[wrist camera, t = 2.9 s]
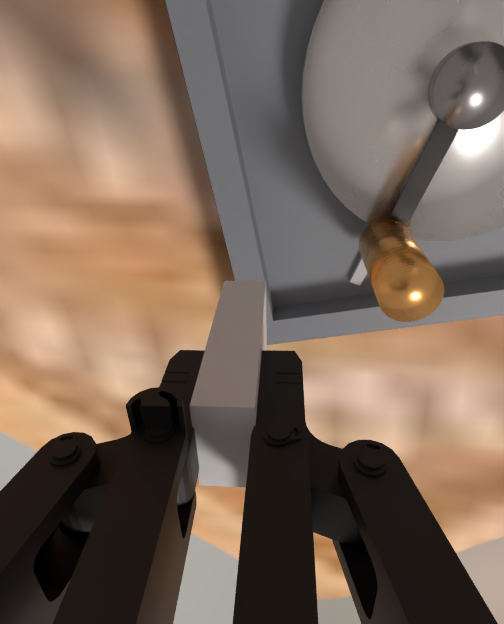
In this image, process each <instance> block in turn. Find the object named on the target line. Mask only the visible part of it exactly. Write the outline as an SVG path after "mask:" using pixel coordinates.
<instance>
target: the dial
mask: <svg viewBox="0 0 504 624" xmlns="http://www.w3.org/2000/svg"><path fill="white" fill-rule="evenodd" d="M301 98H302V112H303V120H304V125H305V130H306V136H307V140H308V144H309V147H310V150H311V153H312V156H313V159H314V161H315V163H316V165H317V167H318V169H319V171H320V173H321V175H322V177H323V179H324V180H325V182H326V183H327V185H328V186H329V188H330V189H331V191H332V192H333V194H334V195H335V196H336V197H337V198H338V199H339V200H340V201H341V202H342V203H343V205H344V206H345V207H347V208H348V209H349V210H350V211H351V212H353V213H354V214H355V215H356V216H357V217H359V218H360V219H362V220H364V221H365V222H367V223H368V224H370V225H369V226H367V227H366V228H365V230H364V231H363V232H362V234H361V236H360V239H359V251H360V254H361V256H362V259H363V262H364V265H365V267H366V270H367V273H368V276H369V279H370V281H371V284H372V287H373V290H374V292H375V295H376V298H377V301H378V304H379V306H380V308H381V310H382V311H383V313H384V314H385V315H386V316H388V317H389V318H391V319H393V320H396V321H401V322H412V321H417V320H420V319H423V318H425V317H427V316H428V315H430V314H431V313H432V312H434V311H435V310H436V309H437V308H438V306H439V305H440V303H441V301H442V299H443V296H444V284H443V281H442V279H441V277H440V276H439V274H438V273H437V271H436V270H435V268H434V267H433V265H432V264H431V263H430V261H429V260H428V258H427V257H426V255H425V254H424V252H423V251H422V249H421V248H420V246H419V245H418V243H417V242H416V240H422V241H449V240H459V239H465V238H470V237H475V236H479V235H483V234H486V233H489V232H492V231H495V230H498V229H501V228H503V227H504V0H324V1H323V3H322V5H321V7H320V10H319V12H318V15H317V17H316V20H315V22H314V25H313V28H312V31H311V35H310V38H309V42H308V46H307V49H306V55H305V61H304V67H303V73H302V93H301Z"/></svg>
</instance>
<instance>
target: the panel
mask: <svg viewBox="0 0 504 624" xmlns="http://www.w3.org/2000/svg"><path fill="white" fill-rule="evenodd" d="M165 1H166V5H167V9H168V13H169V17H170V21H171V25H172V29H173V33H174V37H175V41H176V45H177V49H178V54H179V58H180V62H181V66H182V70H183V74H184V78H185V82H186V86H187V90H188V94H189V98H190V102H191V106H192V110H193V114H194V118H195V122H196V126H197V130H198V134H199V138H200V142H201V146H202V150H203V154H204V158H205V162H206V166H207V170H208V174H209V178H210V182H211V186H212V190H213V194H214V198H215V202H216V206H217V210H218V214H219V218H220V222H221V226H222V230H223V234H224V238H225V242H226V246H227V250H228V254H229V258H230V262H231V266H232V270H233V274H234V278H235V281H266V324H267V345H271V344H279V343H287V342H295V341H303V340H310V339H318V338H326V337H334V336H342V335H350V334H358V333H366V332H374V331H382V330H390V329H397V328H405V327H413V326H421V325H429V324H437V323H445V322H453V321H461V320H469V319H477V318H485V317H492V316H500V315H504V227H503V228H501V229H498V230H495V231H492V232H489V233H486V234H483V235H479V236H475V237H470V238H465V239H459V240H449V241H422V240H416V242H417V243H418V245H419V246H420V248H421V249H422V251H423V252H424V254H425V255H426V257H427V258H428V260H429V261H430V263H431V264H432V265H433V267H434V268H435V270H436V271H437V273H438V274H439V276H440V277H441V279H442V281H443V284H444V296H443V299H442V301H441V303H440V305H439V306H438V308H437V309H436V310H435V311H434V312H432V313H431V314H430V315H428V316H427V317H425V318H423V319H420V320H417V321H412V322H401V321H396V320H393V319H391V318H389V317H388V316H386V315H385V314H384V313H383V311H382V310H381V308H380V306H379V304H378V301H377V298H376V295H375V292H374V290H373V287H372V284H371V281H370V279H369V276H368V273H367V270H366V267H365V265H364V262H363V259H362V256H361V254H360V251H359V239H360V236H361V234H362V232H363V231H364V230H365V228H366V227H367V226H369V225H370V224H368V223H367V222H365V221H364V220H362V219H360V218H359V217H357V216H356V215H355V214H354V213H353V212H351V211H350V210H349V209H348V208H347V207H345V206H344V205H343V203H342V202H341V201H340V200H339V199H338V198H337V197H336V196H335V195H334V194H333V192H332V191H331V189H330V188H329V186H328V185H327V183H326V182H325V180H324V179H323V177H322V175H321V173H320V171H319V169H318V167H317V165H316V163H315V161H314V159H313V156H312V153H311V150H310V147H309V144H308V140H307V136H306V130H305V125H304V120H303V112H302V98H301V93H302V73H303V67H304V61H305V55H306V49H307V46H308V42H309V38H310V35H311V31H312V28H313V25H314V22H315V20H316V17H317V15H318V12H319V10H320V7H321V5H322V3H323V1H324V0H165Z"/></svg>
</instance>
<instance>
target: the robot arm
mask: <svg viewBox="0 0 504 624" xmlns="http://www.w3.org/2000/svg"><path fill="white" fill-rule="evenodd" d="M266 348H267V324H266V281H224V284H223V288H222V291H221V295H220V298H219V302H218V306H217V309H216V313H215V316H214V320H213V323H212V327H211V331H210V334H209V338H208V341H207V345H206V349H205V351H197V350H180V351H179V352H178V353H177V354H176V355H175V356H173V357H172V358H171V359H170V361H169V363H168V366H167V368H166V371H165V374H164V376H163V379H162V383H161V384H160V386H159V387H158V388H150V389H147V390H144V391H141V392H139V393H138V394H136V395H135V396H133V397H132V398H131V399H130V400H129V402H128V403H127V404H126V409H127V413H128V418H129V422H130V426H131V431H132V432H131V434H130V435H128V436H126V437H123V438H120V439H117V440H113V441H108V442H104V443H99V444H96V443H95V441H94V440H93V438H92V437H91V436H89V435H87V434H85V433H79V432H72V433H67V434H63V435H60V436H58V437H56V438H54V439H52V440H50V441H49V442H48V443H47V444H45V445H44V446H43V447H42V448H41V449H40V450H39V451H38V452H37V453H36V454H35V455H34V456H33V457H32V458H31V459H30V460H29V461H28V463H27V464H26V465H25V466H24V467H23V468H22V469H21V470H20V471H19V472H18V473H17V474H16V475H15V476H14V477H13V478H12V479H11V481H10V482H9V483H8V484H7V485H6V486H5V487H4V488H3V489H2V490H1V491H0V624H173V621H174V615H175V611H176V605H177V600H178V595H179V590H180V585H181V580H182V575H183V570H184V565H185V560H186V555H187V550H188V545H189V540H190V535H191V530H192V525H193V519H194V514H195V509H196V492H195V487H196V482H197V478H198V475H199V482H200V485H204V486H230V487H246V491H245V502H244V512H243V522H242V533H241V543H240V554H239V565H238V575H237V585H236V595H235V606H234V616H233V624H318V612H317V594H316V576H315V558H314V540H313V532H314V533H317V534H320V535H322V536H325V537H328V538H330V539H333V544H334V546H335V549H336V552H337V555H338V558H339V561H340V564H341V567H342V569H343V572H344V575H345V578H346V581H347V584H348V587H349V589H350V592H351V595H352V598H353V601H354V603H355V607H356V609H357V612H358V615H359V618H360V621H361V624H498V623H497V622H496V620H495V619H494V617H493V615H492V614H491V612H490V610H489V608H488V607H487V605H486V603H485V602H484V600H483V598H482V597H481V595H480V593H479V592H478V590H477V588H476V587H475V585H474V583H473V581H472V580H471V578H470V576H469V575H468V573H467V571H466V570H465V568H464V566H463V565H462V563H461V561H460V559H459V558H458V556H457V554H456V553H455V551H454V549H453V548H452V546H451V544H450V543H449V541H448V539H447V537H446V536H445V534H444V532H443V531H442V529H441V527H440V526H439V524H438V522H437V521H436V519H435V517H434V516H433V514H432V512H431V511H430V509H429V507H428V505H427V504H426V502H425V500H424V499H423V497H422V495H421V494H420V492H419V490H418V489H417V487H416V485H415V484H414V482H413V480H412V478H411V477H410V475H409V473H408V472H407V470H406V468H405V467H404V465H403V463H402V462H401V460H400V458H399V457H398V456H397V455H396V454H395V452H394V451H393V450H392V449H390V448H389V447H387V446H385V445H384V444H382V443H379V442H376V441H372V440H357V441H354V442H351V443H349V444H348V445H347V446H345V447H344V448H343V449H341V448H338V447H334V446H331V445H328V444H326V443H323V442H321V441H320V440H318V439H317V438H315V437H314V436H313V435H312V434H311V433H310V431H309V430H308V428H307V426H306V422H305V409H304V391H303V372H302V361H301V359H300V358H299V357H298V355H297V354H296V352H295V351H266Z"/></svg>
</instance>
